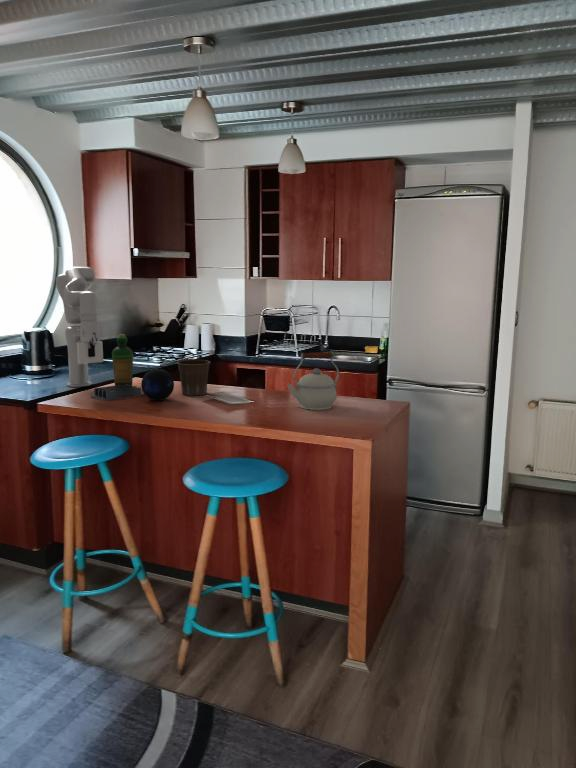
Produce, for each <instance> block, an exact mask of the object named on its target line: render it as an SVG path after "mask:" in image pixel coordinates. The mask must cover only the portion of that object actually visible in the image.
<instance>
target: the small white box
mask: <svg viewBox="0 0 576 768" xmlns="http://www.w3.org/2000/svg"><path fill="white" fill-rule="evenodd" d="M96 343H97V344H96V345H95V357H88V349H89V343H88V342H82V343H77V357H78V364H86V363H88V364H97V363H104V350H103V349H104V347H103V341H101V340H99V341H97V342H96Z"/></svg>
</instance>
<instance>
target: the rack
mask: <svg viewBox="0 0 576 768" xmlns="http://www.w3.org/2000/svg"><path fill="white" fill-rule="evenodd" d="M93 390H94V393H93V394H92V393H91V394H89V396H90V398H94V399H96V400H99V399H100V401H102V400H103V402H107V400H108V401H113V399H115V400H119V399H120V398H122V399H127V397H129V398H134V396H136V397H142V395H143V396H146V395H145V394H144V393H143V391H142V387H141V386H139V387H138V386H136V385H134V386H133V384H132V385H128V384H123V385H115V384H114V385H109V386H102V387H94V389H93ZM120 400H121V399H120Z"/></svg>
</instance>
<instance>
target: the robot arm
mask: <svg viewBox="0 0 576 768" xmlns="http://www.w3.org/2000/svg"><path fill="white" fill-rule="evenodd" d="M95 273H96V272H95V270H94V269H93V268H91V267H90V266H71V267H69V268H67V269H66V270H65V273H62V274H58V275H57V276H56V278H55V282H56V283H55V284H56V289H57V292H58V295H59V296H60V298H61V301H62V304H63V310H64V316H65V321H66V323H67V324H68V325H70V326H68V327H66V328H65V331H64V335H65V340H66V345H67V356H68V357H67V361H68V374H69V375H68V376H69V377H68V380H69V382H67V383H66V386H67V387H70V388H77V387H78V388H79V387H80V388H81V387H82V388H83V387H89V386H91V385H92V383H93V382H92V381H91V380H90V381H89V365H88V364H89V363H86V364H78V357H77V343H82V342H88V343H89V349H88V357H95V345H96V344H97V343H96V342H97V341H101V331H100V329H101V328H100V324H99V319H98V313H97V312H98V311H97V300H98V299H97V295H96V292H94V291H91V290H90V291H87V290H89V289H92V287H93V285H94V284H95V280H96V274H95Z"/></svg>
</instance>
